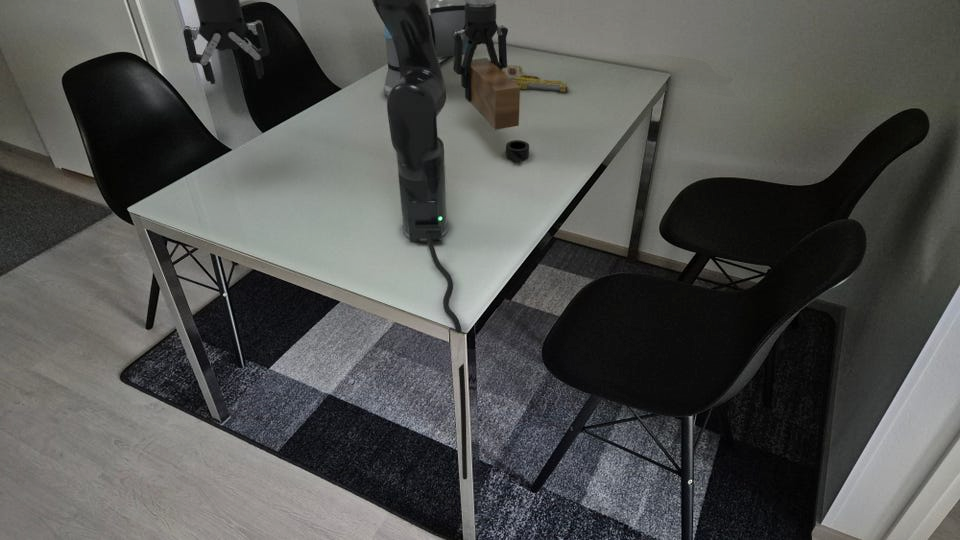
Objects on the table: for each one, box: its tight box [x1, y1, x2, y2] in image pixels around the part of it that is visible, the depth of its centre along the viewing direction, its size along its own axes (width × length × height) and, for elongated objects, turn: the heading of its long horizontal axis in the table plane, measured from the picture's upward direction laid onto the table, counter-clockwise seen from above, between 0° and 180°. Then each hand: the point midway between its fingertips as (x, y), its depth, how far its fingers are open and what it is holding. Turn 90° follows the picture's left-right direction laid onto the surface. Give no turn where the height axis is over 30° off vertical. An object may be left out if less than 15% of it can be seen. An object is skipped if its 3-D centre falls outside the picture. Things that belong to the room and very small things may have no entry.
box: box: [468, 57, 521, 130], centre depth 154 cm, size 21×6×10 cm, turn 21°
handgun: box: [502, 64, 569, 94], centre depth 196 cm, size 2×23×15 cm
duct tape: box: [505, 139, 530, 163], centre depth 157 cm, size 8×10×3 cm
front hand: (236, 80), depth 121 cm, fingers open, 8 cm apart
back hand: (480, 97), depth 162 cm, fingers closed on box, 6 cm apart
